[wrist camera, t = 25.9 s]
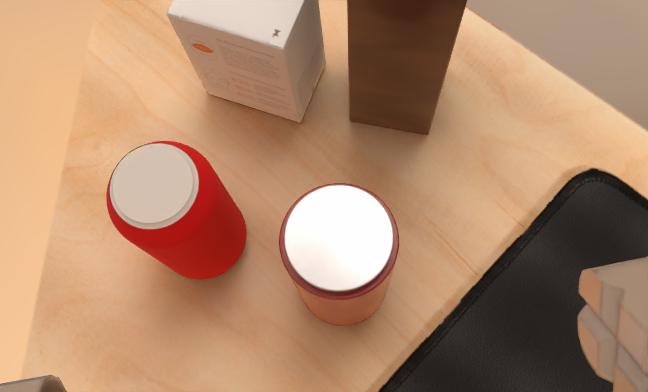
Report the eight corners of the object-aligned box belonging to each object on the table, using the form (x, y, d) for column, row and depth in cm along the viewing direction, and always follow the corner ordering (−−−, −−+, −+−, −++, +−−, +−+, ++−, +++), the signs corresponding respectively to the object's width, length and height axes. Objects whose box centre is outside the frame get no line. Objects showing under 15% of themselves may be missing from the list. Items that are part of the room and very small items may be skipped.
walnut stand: (333, 130, 45) (315, -99, 24) (355, 39, 47) (355, -242, 26) (439, 150, 44) (517, -70, 23) (456, 56, 46) (540, -221, 25)
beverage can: (230, 184, 44) (186, 112, 32) (262, 259, 42) (228, 210, 30) (152, 219, 43) (79, 157, 32) (182, 297, 41) (116, 261, 30)
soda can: (290, 315, 41) (264, 283, 29) (310, 231, 42) (293, 168, 30) (377, 334, 40) (387, 310, 28) (394, 248, 42) (409, 191, 30)
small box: (327, 64, 46) (319, -26, 36) (300, 126, 45) (285, 50, 35) (233, 35, 48) (201, -60, 38) (205, 94, 46) (163, 12, 36)
